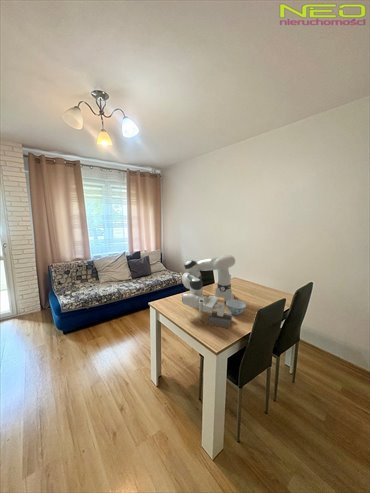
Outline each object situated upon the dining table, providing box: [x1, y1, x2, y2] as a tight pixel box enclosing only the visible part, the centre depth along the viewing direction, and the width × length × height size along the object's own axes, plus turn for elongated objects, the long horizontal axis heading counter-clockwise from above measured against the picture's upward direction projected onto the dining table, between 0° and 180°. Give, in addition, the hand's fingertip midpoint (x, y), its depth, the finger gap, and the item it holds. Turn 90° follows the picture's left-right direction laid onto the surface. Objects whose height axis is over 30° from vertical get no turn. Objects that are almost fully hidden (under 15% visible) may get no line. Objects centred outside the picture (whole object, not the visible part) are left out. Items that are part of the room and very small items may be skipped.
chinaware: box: [225, 299, 247, 316], centre depth 155 cm, size 15×15×8 cm
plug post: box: [216, 297, 225, 317], centre depth 140 cm, size 4×4×12 cm
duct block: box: [208, 310, 233, 329], centre depth 141 cm, size 12×14×4 cm
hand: (222, 305), depth 139 cm, fingers closed on plug post, 4 cm apart
